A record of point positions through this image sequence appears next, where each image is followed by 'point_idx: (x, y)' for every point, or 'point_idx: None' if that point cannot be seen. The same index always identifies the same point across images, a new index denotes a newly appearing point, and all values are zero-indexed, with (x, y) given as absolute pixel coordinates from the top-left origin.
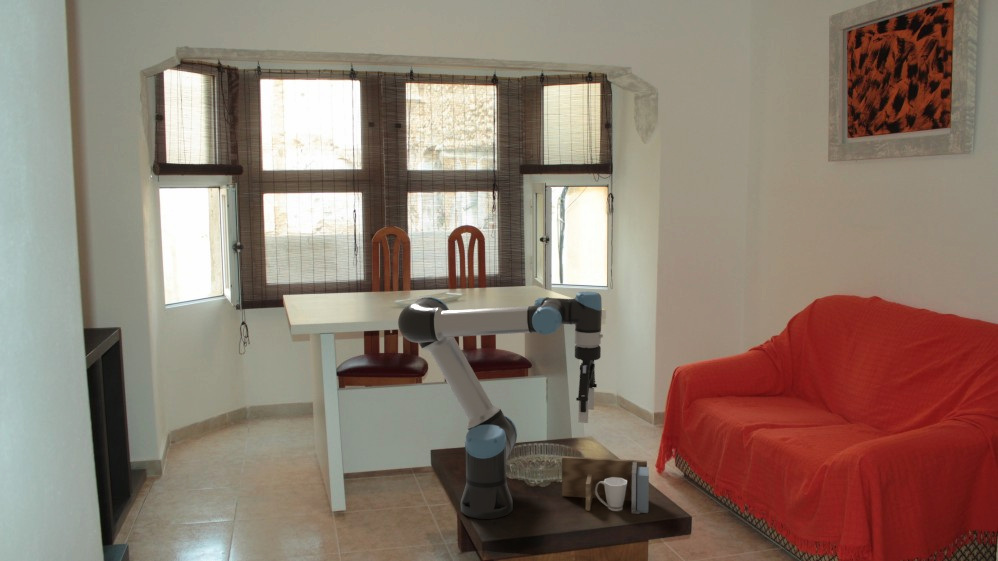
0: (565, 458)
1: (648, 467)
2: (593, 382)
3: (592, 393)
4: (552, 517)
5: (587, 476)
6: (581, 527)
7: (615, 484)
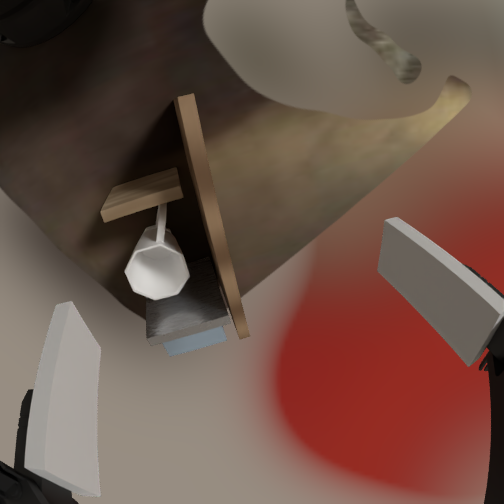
0: (180, 110)
1: (225, 340)
2: (496, 403)
3: (449, 334)
4: (46, 137)
5: (156, 192)
6: (36, 216)
7: (179, 256)
